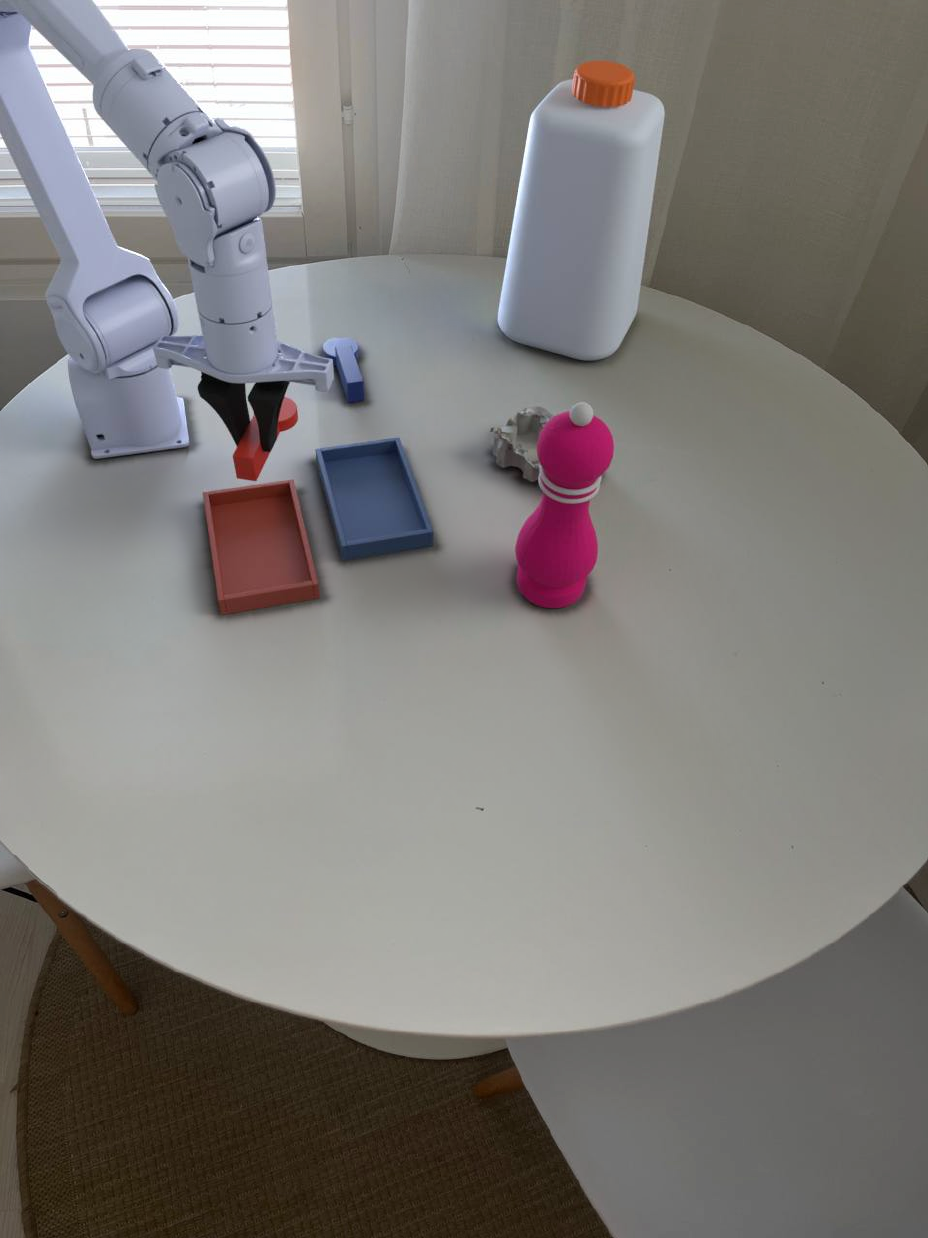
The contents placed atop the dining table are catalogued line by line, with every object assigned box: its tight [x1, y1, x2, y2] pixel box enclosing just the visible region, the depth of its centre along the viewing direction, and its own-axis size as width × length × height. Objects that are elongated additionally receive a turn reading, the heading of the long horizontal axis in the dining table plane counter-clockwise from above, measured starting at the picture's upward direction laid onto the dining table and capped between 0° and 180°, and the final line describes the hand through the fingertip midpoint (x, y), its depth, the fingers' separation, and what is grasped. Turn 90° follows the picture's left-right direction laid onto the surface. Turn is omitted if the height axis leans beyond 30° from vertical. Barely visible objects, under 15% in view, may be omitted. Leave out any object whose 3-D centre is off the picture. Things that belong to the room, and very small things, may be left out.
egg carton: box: [489, 406, 555, 483], centre depth 92 cm, size 11×8×4 cm
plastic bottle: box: [497, 60, 666, 362], centre depth 100 cm, size 15×15×28 cm
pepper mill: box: [514, 401, 615, 609], centre depth 75 cm, size 7×7×20 cm
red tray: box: [202, 478, 321, 616], centre depth 83 cm, size 9×14×2 cm, turn 16°
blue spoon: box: [322, 336, 365, 404], centre depth 101 cm, size 11×4×3 cm, turn 16°
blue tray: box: [315, 436, 434, 562], centre depth 88 cm, size 9×14×2 cm, turn 16°
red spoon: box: [232, 396, 299, 482], centre depth 82 cm, size 11×4×3 cm, turn 170°
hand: (257, 442), depth 81 cm, fingers closed on red spoon, 2 cm apart
